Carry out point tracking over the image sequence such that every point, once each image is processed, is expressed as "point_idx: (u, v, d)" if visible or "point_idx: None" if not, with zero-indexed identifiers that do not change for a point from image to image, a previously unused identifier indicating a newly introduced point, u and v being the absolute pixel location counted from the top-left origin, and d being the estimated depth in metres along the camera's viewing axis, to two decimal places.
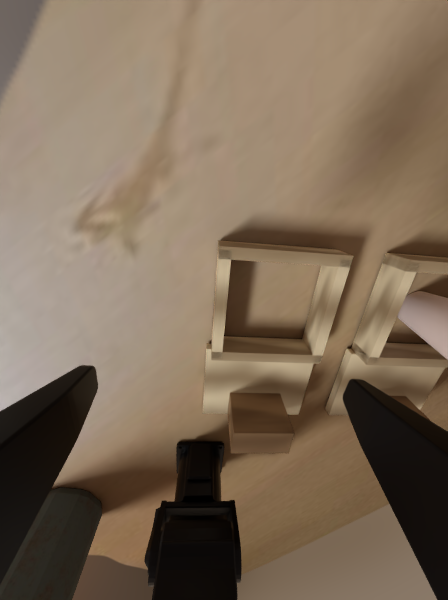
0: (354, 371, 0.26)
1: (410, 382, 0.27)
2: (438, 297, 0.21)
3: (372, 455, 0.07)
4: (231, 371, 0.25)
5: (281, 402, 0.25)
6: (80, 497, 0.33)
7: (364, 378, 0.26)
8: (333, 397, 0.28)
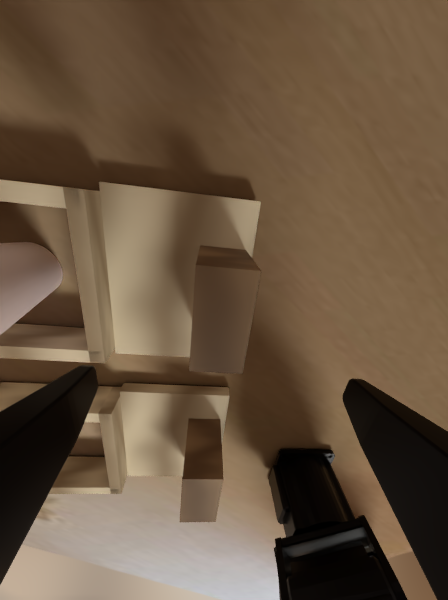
0: (147, 342, 0.17)
1: (167, 247, 0.14)
2: None
3: (372, 455, 0.07)
4: (155, 459, 0.23)
5: (187, 432, 0.20)
6: None
7: (159, 326, 0.17)
8: None
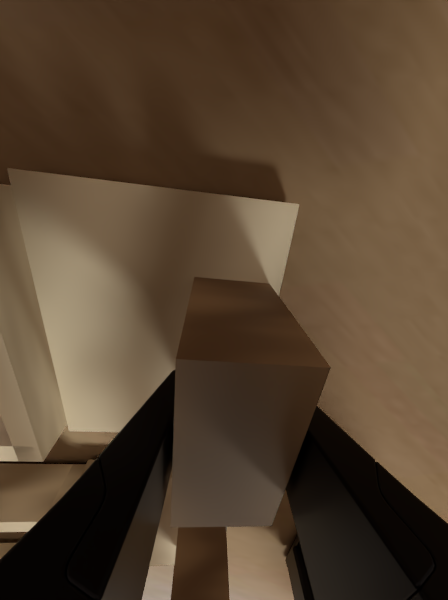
0: (115, 416, 0.11)
1: (138, 280, 0.09)
2: None
3: None
4: None
5: (177, 531, 0.14)
6: None
7: (133, 395, 0.11)
8: None
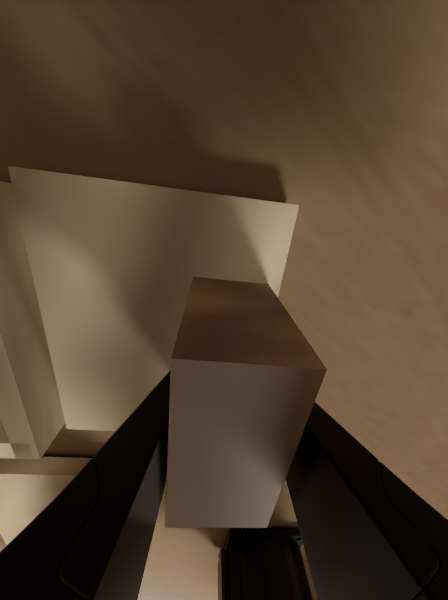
0: (113, 415, 0.11)
1: (137, 279, 0.09)
2: None
3: None
4: None
5: None
6: None
7: (131, 394, 0.11)
8: None
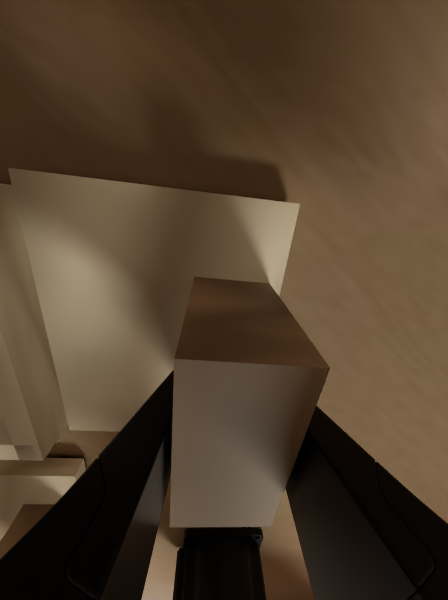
0: (115, 416, 0.11)
1: (138, 280, 0.09)
2: None
3: None
4: None
5: (7, 532, 0.13)
6: None
7: (133, 395, 0.11)
8: None
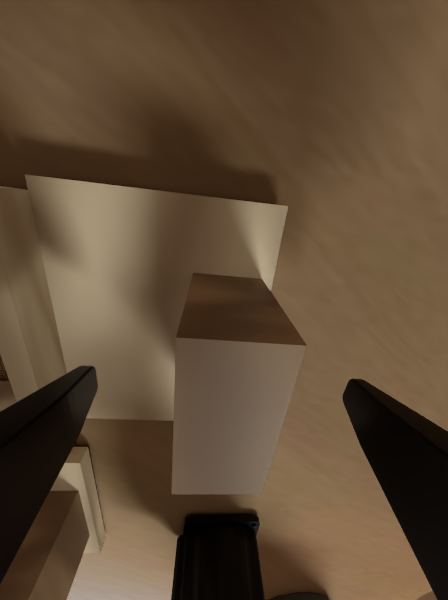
0: (120, 404, 0.12)
1: (142, 276, 0.09)
2: None
3: (372, 455, 0.07)
4: None
5: None
6: None
7: (136, 384, 0.12)
8: None
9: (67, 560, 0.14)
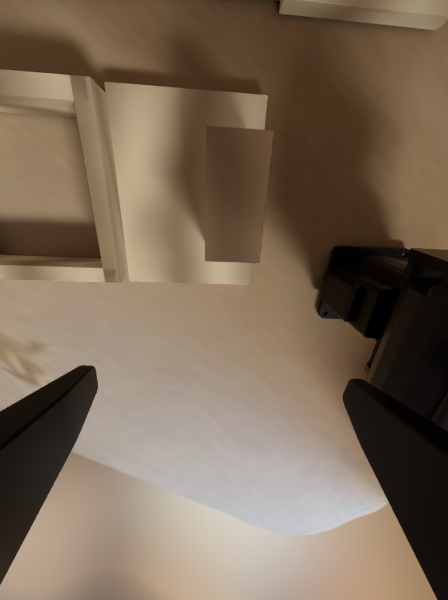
0: None
1: None
2: None
3: (372, 455, 0.07)
4: (165, 245, 0.17)
5: None
6: None
7: None
8: (401, 16, 0.12)
9: None
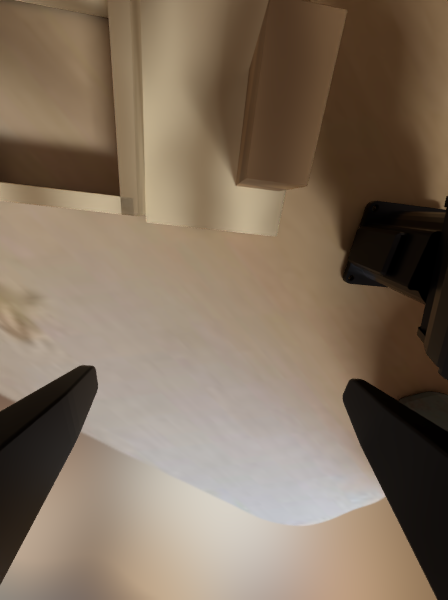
0: None
1: None
2: None
3: (372, 455, 0.07)
4: (190, 182, 0.15)
5: (252, 59, 0.12)
6: None
7: None
8: None
9: None
